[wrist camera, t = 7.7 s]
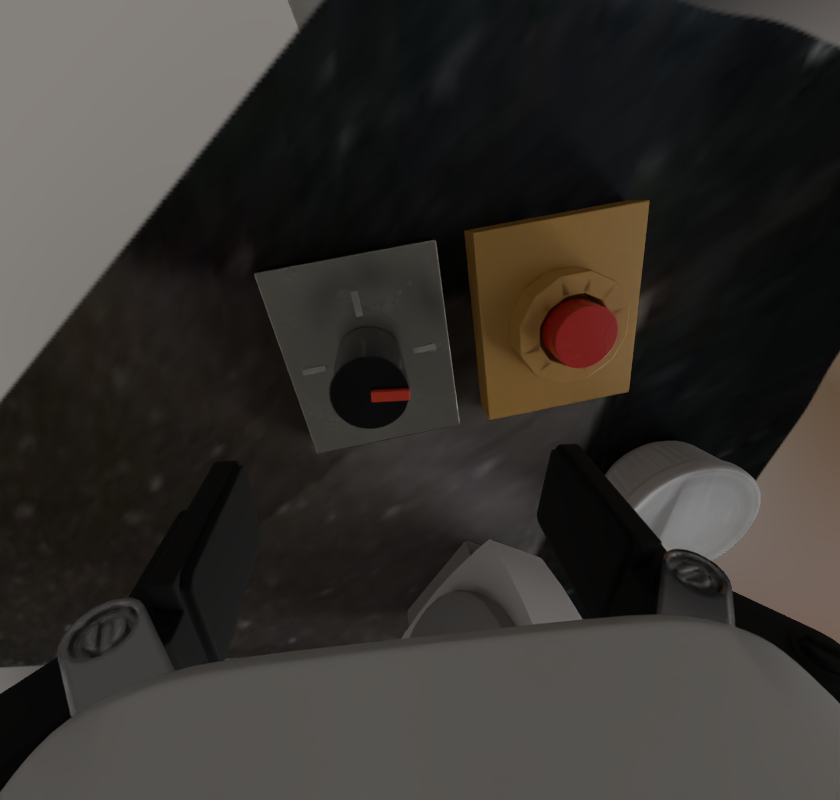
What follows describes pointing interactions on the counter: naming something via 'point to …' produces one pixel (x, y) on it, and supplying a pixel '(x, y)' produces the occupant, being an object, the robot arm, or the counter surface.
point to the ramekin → (687, 496)
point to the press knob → (580, 332)
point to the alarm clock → (489, 593)
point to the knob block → (552, 302)
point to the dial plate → (360, 308)
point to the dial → (369, 379)
